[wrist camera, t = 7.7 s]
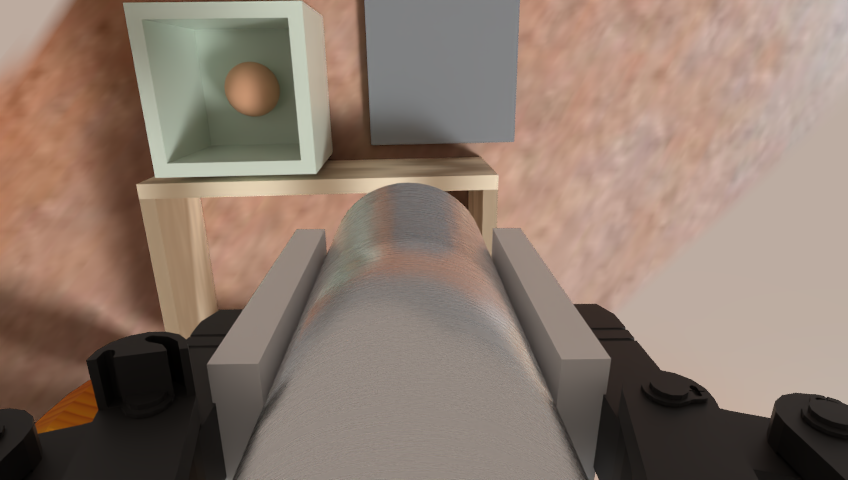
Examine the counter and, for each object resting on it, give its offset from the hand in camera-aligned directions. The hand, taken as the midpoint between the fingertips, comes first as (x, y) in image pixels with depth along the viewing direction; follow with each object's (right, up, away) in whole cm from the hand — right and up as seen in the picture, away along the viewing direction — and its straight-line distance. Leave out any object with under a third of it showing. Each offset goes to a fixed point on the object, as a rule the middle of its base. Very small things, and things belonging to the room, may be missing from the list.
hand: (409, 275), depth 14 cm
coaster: (+1, +11, +17) cm, 21 cm away
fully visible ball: (-9, +10, +16) cm, 21 cm away
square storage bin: (-9, +10, +17) cm, 22 cm away
